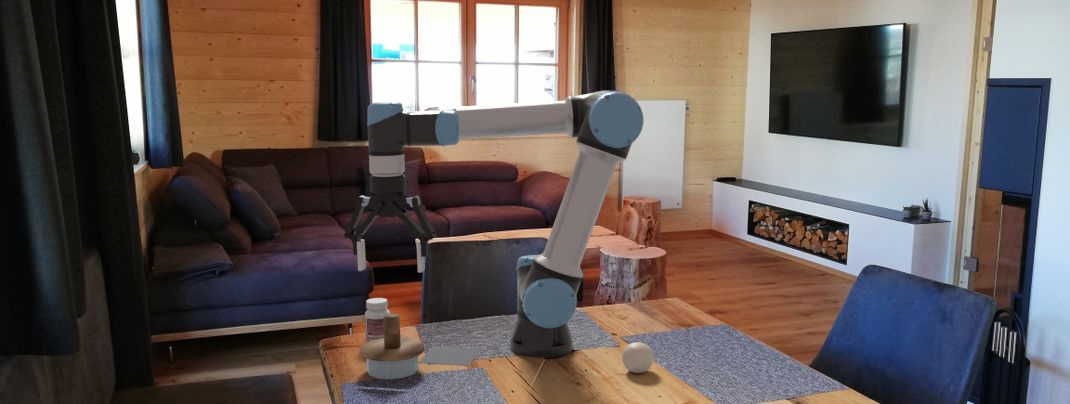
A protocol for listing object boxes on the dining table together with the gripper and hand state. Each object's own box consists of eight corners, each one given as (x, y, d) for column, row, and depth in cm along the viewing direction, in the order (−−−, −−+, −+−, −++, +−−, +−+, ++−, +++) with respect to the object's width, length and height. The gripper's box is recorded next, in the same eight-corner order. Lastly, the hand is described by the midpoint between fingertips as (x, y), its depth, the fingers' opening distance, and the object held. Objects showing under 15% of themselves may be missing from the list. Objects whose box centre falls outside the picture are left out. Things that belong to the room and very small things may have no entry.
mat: (481, 350, 206) (481, 348, 206) (469, 367, 195) (469, 365, 195) (433, 348, 208) (433, 346, 208) (418, 364, 197) (418, 362, 197)
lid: (432, 342, 196) (431, 309, 195) (412, 363, 183) (412, 326, 182) (373, 339, 199) (372, 306, 198) (350, 359, 185) (349, 323, 184)
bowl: (423, 365, 196) (423, 344, 195) (408, 382, 185) (408, 360, 184) (378, 362, 198) (377, 342, 197) (360, 379, 187) (359, 357, 186)
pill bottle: (395, 346, 210) (394, 301, 208) (371, 350, 207) (370, 305, 205) (385, 339, 215) (383, 295, 213) (361, 344, 212) (360, 299, 210)
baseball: (659, 370, 193) (660, 342, 192) (641, 379, 187) (642, 350, 186) (634, 364, 197) (635, 336, 196) (616, 372, 191) (616, 343, 190)
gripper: (448, 172, 186) (451, 267, 189) (339, 171, 191) (344, 265, 194) (438, 176, 179) (441, 275, 182) (325, 176, 183) (330, 272, 187)
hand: (391, 270), depth 188 cm, fingers open, 13 cm apart
